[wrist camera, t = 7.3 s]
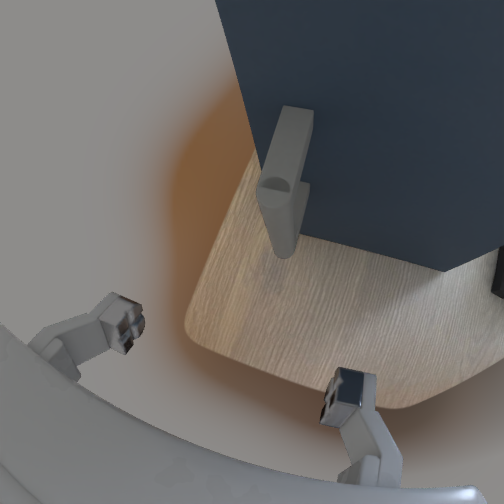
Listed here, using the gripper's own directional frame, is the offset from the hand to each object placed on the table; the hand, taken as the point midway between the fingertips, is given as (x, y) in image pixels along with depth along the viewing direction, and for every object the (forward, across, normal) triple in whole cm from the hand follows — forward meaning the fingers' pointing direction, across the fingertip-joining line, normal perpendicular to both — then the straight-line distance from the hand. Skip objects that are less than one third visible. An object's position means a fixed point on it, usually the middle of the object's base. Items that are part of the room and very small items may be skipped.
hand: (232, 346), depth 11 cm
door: (+22, -8, +9) cm, 25 cm away
